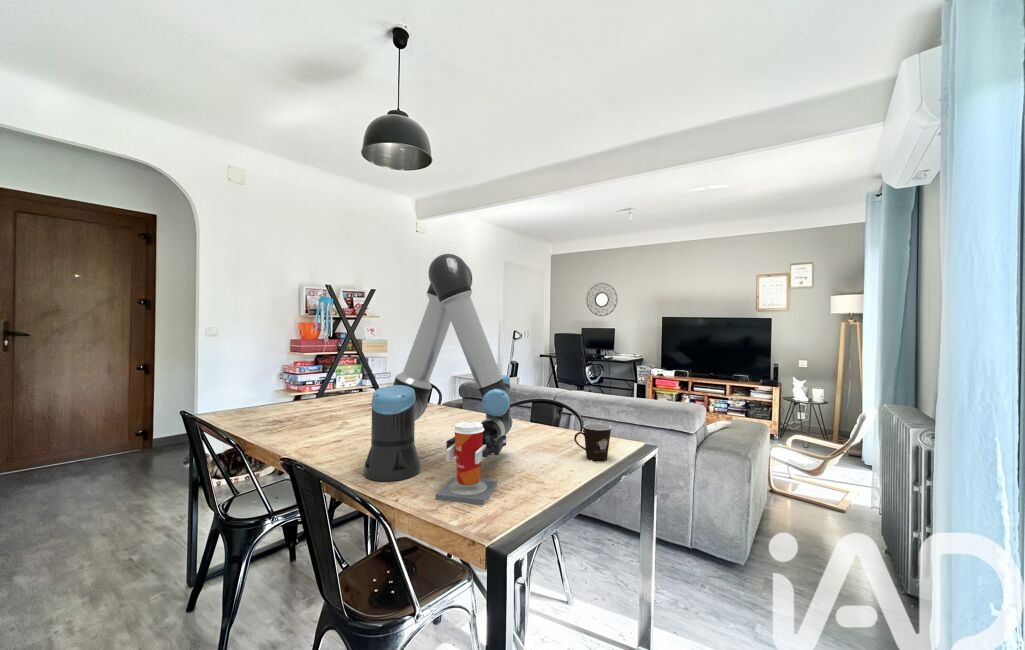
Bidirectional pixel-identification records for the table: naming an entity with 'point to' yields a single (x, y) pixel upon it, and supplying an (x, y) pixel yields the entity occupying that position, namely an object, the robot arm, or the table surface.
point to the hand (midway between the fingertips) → (461, 457)
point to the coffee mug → (596, 441)
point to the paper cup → (468, 451)
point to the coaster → (466, 491)
